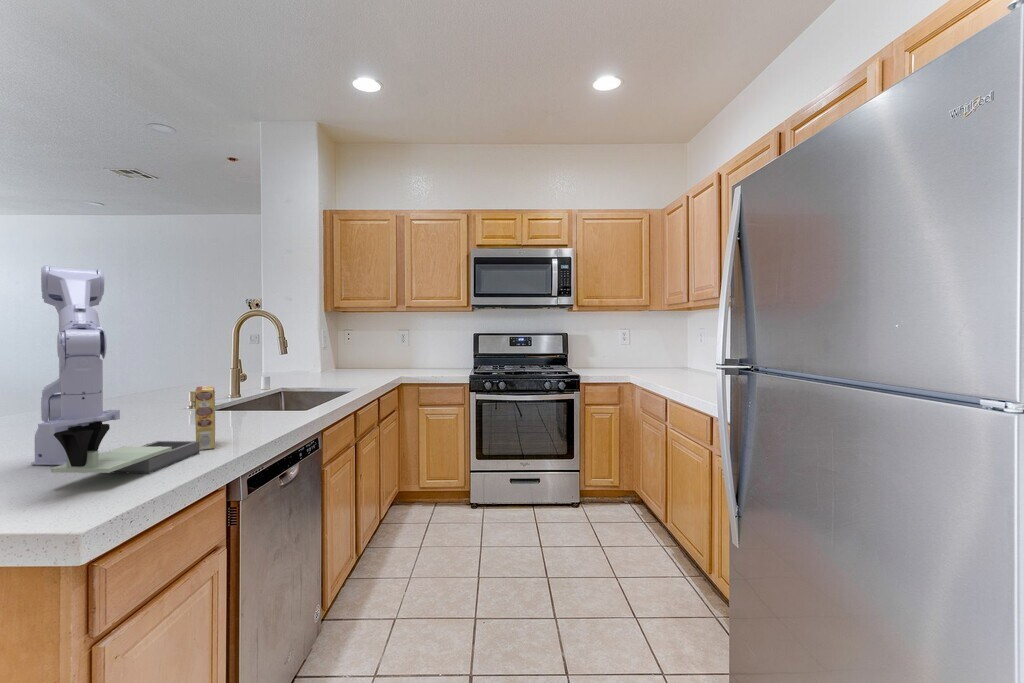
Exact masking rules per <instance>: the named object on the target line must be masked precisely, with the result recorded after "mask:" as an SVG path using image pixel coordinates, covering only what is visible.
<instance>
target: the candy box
mask: <svg viewBox="0 0 1024 683" xmlns="http://www.w3.org/2000/svg"><path fill="white" fill-rule="evenodd" d="M194 397H195V399H194V401H195V403H194V404H195V411H194V412H195V414H194V415H195V441H199V451H204V450H213V449H215V447H216V399H215V398H216V397H215V385H209V386H208V385H207V386H205V385H204V386H196V388H195V396H194Z"/></svg>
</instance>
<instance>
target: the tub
mask: <svg viewBox="0 0 1024 683" xmlns="http://www.w3.org/2000/svg"><path fill="white" fill-rule="evenodd" d="M139 447H172V450H171V451H169V452H166V453H163V454H160V455H157V456H154V457H152V458H149V459H146V460H143V461H140V462H138V463H135V464H132V465H129V466H126V467H124V468H121V469H118V470H115V471H112V472H110V473H109V474H135V475H136V473H137V475H138V474H140V473H141V474H146V475H147V474H148V475H149V474H151V473H153V472H156V471H159V470H161V469H163V468H167V467H168V466H171V465H174V464H176V463H179V462H182V461H184V460H186V459H190V458H191V457H194V456H197V455H200V450H199V441H196V440H195V441H193V440H185V441H183V440H156V441H154V442H151V443H148V444H144V445H140V446H139Z"/></svg>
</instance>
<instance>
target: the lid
mask: <svg viewBox="0 0 1024 683" xmlns="http://www.w3.org/2000/svg"><path fill="white" fill-rule="evenodd" d="M171 450H172V447H140V446H132V445H131V446H127V445H126V446H125V445H123V446H120V447H117V448H113V449H110V450H107V451H104V452H100V453H99V450H98V451H87V461H86V465H85V466H83V467H71V464H70V462H69V459H68V456H67V464H63V465H56V466H53V467H51V468H50V473H55V474H57V473H58V474H59V473H60V474H61V473H66V474H67V473H69V474H70V473H74V474H75V473H76V474H78V473H79V474H80V473H81V474H82V473H85V474H86V473H87V474H88V473H89V474H90V473H91V474H92V473H93V474H95V473H96V474H97V473H98V474H111V473H110V472H112V471H115V470H118V469H121V468H124V467H126V466H129V465H132V464H135V463H138V462H140V461H143V460H146V459H149V458H152V457H154V456H157V455H160V454H163V453H166V452H169V451H171Z"/></svg>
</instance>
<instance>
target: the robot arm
mask: <svg viewBox="0 0 1024 683" xmlns="http://www.w3.org/2000/svg"><path fill="white" fill-rule="evenodd" d="M40 272H41V273H40V274H41V275H40V276H41V277H40V280H41V284H40V285H41V286H40V287H41V297H42V299H43V303H45V304H48V305H51V306H53V307H54V308H55V310H56V312H57V314H58V332H57V338H56V342H57V343H56V344H57V345H56V348H57V357H58V369H59V370H58V379H56V380H55V381H52V382H51V383H49V384H47V385H45V386H44V387H43V389H42V390H41V398H40V399H41V401H40V405H41V407H40V413H41V416H40V419H41V421H42V422H40V423H38V424H37V427H38V428H37V429H36V430H35V434H34V461H33V462H30V465H32V466H46V465H47V466H60V465H63V464H67V456H68V459H69V462H70V464H71V467H83V466H85V465H86V461H87V451H98V452H99V448H100V445H101V443H102V441H103V439H104V437H105V436H106V434H107V433H108V431H109V430H110V429H111V428H110V424H109V423H104V422H109V421H118V420H120V418H121V417H120V416H121V411H120V409H107V410H103V407H104V405H103V404H104V402H103V399H104V397H103V396H104V395H103V394H104V392H103V390H104V389H103V385H104V382H103V381H104V380H103V379H104V377H103V376H104V374H103V373H104V372H103V370H104V369H103V367H104V366H103V365H104V364H103V363H104V362H103V361H104V359H105V358H106V355H107V345H108V344H107V334H106V333H105V329H104V328H103V327H102V326H101V325H100V318H99V313H98V311H97V310H96V309H95V308H93V307H95V306H99V305H100V302H101V301H102V299H103V296H104V292H105V275H104V272H103V271H102V270H101V269H100V268H99V269H88V268H79V267H78V268H77V267H76V268H75V267H63V266H53V265H52V266H51V265H50V266H49V265H48V264H45V265H44V266H41V271H40ZM101 357H102V358H101Z"/></svg>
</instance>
